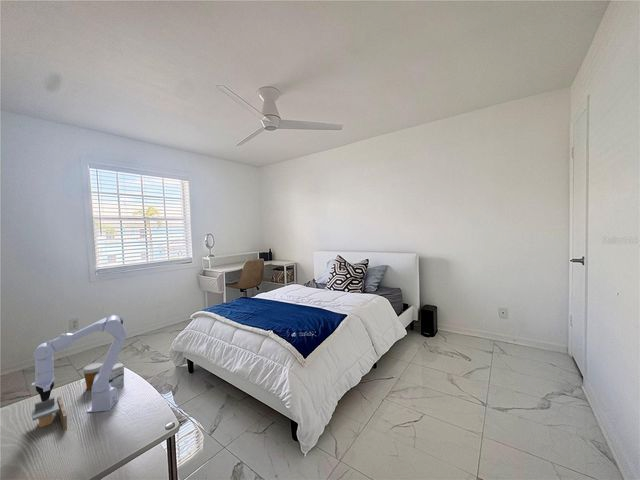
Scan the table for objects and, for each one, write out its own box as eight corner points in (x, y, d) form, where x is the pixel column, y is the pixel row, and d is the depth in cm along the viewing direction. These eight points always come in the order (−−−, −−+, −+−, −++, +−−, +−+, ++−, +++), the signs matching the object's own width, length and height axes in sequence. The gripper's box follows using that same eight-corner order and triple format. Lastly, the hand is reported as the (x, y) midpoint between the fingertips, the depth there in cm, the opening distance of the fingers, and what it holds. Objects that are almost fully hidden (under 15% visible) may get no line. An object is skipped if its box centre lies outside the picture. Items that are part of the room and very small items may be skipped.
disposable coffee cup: (109, 384, 146) (109, 363, 145) (88, 393, 137) (88, 371, 137) (99, 380, 150) (99, 359, 149) (79, 389, 141) (78, 367, 141)
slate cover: (31, 412, 116) (31, 403, 115) (56, 403, 122) (56, 394, 122) (32, 420, 111) (32, 411, 110) (59, 410, 117) (59, 402, 117)
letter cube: (38, 423, 116) (38, 414, 116) (51, 418, 119) (51, 409, 119) (39, 427, 114) (39, 418, 113) (52, 422, 117) (52, 413, 117)
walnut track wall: (57, 409, 125) (57, 397, 125) (60, 408, 126) (60, 396, 125) (63, 430, 112) (63, 416, 112) (66, 428, 113) (66, 415, 113)
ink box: (105, 393, 138) (104, 371, 138) (102, 389, 141) (102, 368, 141) (124, 385, 145) (124, 364, 144) (121, 382, 148) (121, 362, 147)
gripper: (30, 368, 117) (30, 397, 117) (32, 380, 108) (33, 412, 108) (52, 362, 122) (53, 390, 123) (56, 373, 113) (57, 403, 114)
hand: (45, 400), depth 116 cm, fingers closed
